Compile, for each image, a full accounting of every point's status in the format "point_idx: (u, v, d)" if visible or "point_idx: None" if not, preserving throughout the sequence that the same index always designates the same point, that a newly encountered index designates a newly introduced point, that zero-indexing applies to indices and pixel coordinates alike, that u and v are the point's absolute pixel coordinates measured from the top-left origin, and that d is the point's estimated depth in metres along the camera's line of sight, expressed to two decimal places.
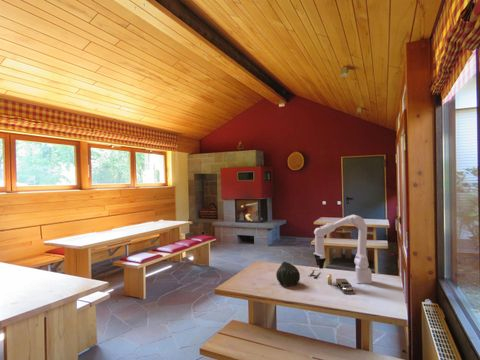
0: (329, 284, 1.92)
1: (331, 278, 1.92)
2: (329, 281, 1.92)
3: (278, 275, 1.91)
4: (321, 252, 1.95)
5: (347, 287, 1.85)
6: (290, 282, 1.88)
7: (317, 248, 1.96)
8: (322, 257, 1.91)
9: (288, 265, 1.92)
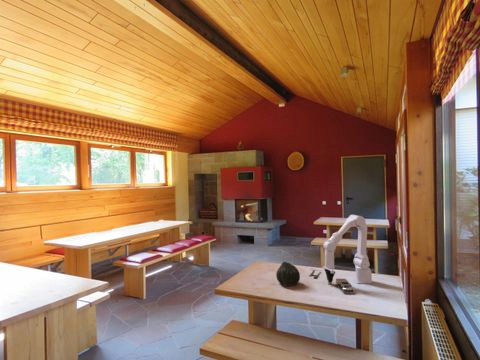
0: (329, 284, 1.92)
1: None
2: None
3: (278, 275, 1.91)
4: (331, 266, 1.90)
5: (347, 287, 1.85)
6: (290, 282, 1.88)
7: (327, 262, 1.91)
8: (332, 272, 1.86)
9: (288, 265, 1.92)
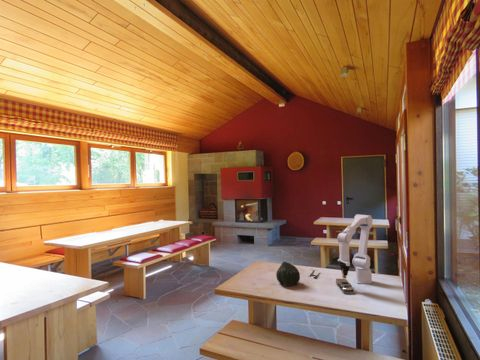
0: (344, 277, 1.83)
1: None
2: None
3: (278, 275, 1.91)
4: (346, 259, 1.82)
5: (347, 287, 1.85)
6: (290, 282, 1.88)
7: (342, 254, 1.82)
8: (348, 264, 1.77)
9: (288, 265, 1.92)
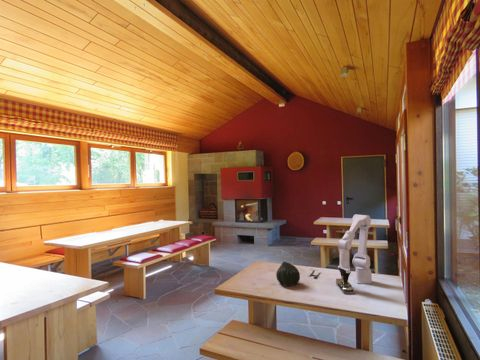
0: None
1: None
2: None
3: (278, 275, 1.91)
4: (346, 266, 1.82)
5: (347, 287, 1.85)
6: (290, 282, 1.88)
7: (342, 261, 1.82)
8: (348, 271, 1.77)
9: (288, 265, 1.92)
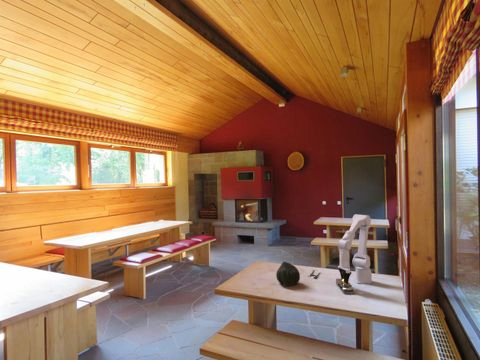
0: None
1: (346, 283, 1.83)
2: None
3: (278, 275, 1.91)
4: (346, 266, 1.82)
5: (347, 287, 1.85)
6: (290, 282, 1.88)
7: (342, 261, 1.82)
8: (348, 271, 1.77)
9: (288, 265, 1.92)
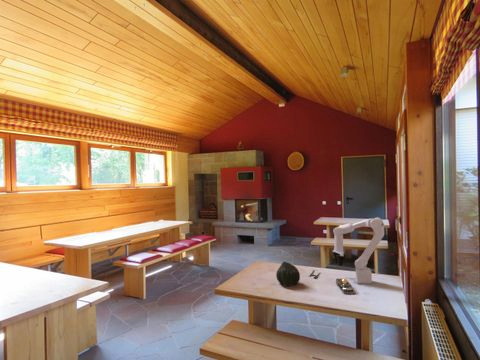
0: None
1: (346, 283, 1.83)
2: None
3: (278, 275, 1.91)
4: (340, 250, 2.03)
5: (347, 287, 1.85)
6: (290, 282, 1.88)
7: (336, 246, 2.04)
8: (342, 254, 1.98)
9: (288, 265, 1.92)
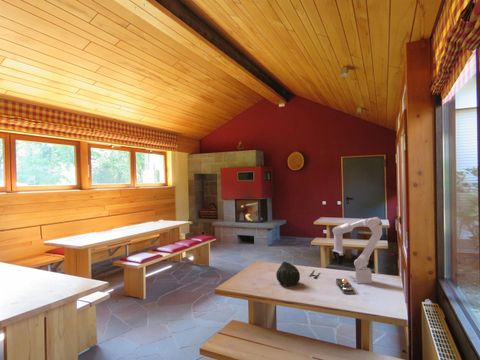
0: None
1: (346, 283, 1.83)
2: None
3: (278, 275, 1.91)
4: (340, 249, 2.05)
5: (347, 287, 1.85)
6: (290, 282, 1.88)
7: (336, 245, 2.06)
8: (341, 254, 2.00)
9: (288, 265, 1.92)
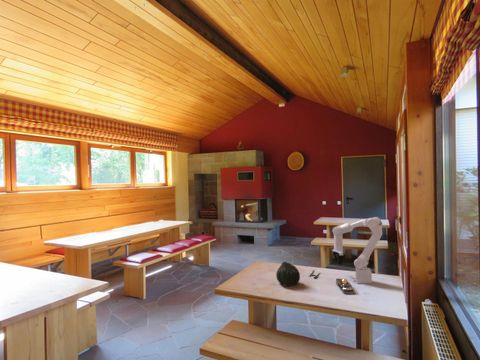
0: None
1: (346, 283, 1.83)
2: None
3: (278, 275, 1.91)
4: (340, 249, 2.05)
5: (347, 287, 1.85)
6: (290, 282, 1.88)
7: (336, 245, 2.06)
8: (341, 254, 2.00)
9: (288, 265, 1.92)
